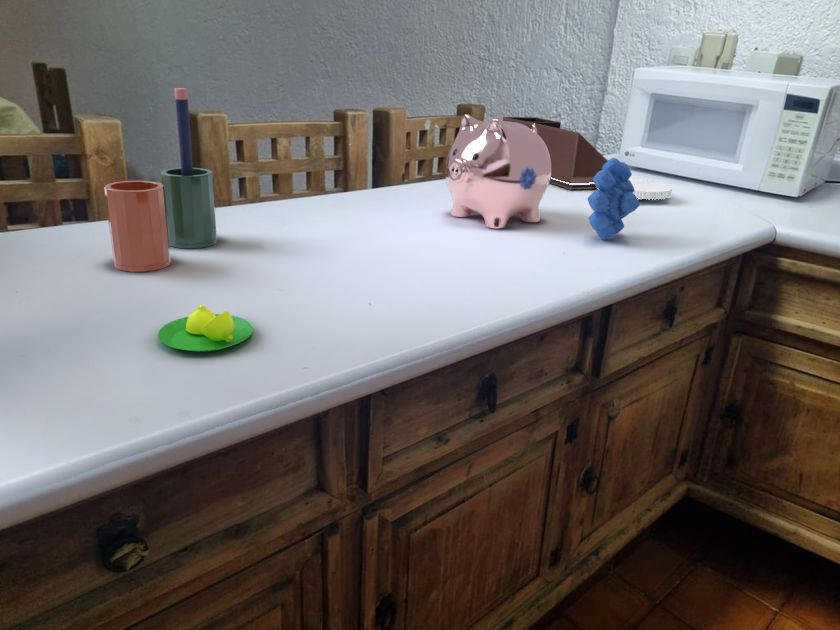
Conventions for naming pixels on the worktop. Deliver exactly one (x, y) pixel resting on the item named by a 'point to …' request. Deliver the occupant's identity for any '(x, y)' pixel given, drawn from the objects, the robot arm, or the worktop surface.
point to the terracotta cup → (138, 225)
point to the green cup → (190, 208)
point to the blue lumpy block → (611, 198)
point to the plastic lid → (650, 189)
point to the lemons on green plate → (205, 331)
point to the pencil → (184, 131)
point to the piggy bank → (497, 171)
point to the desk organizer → (566, 153)
